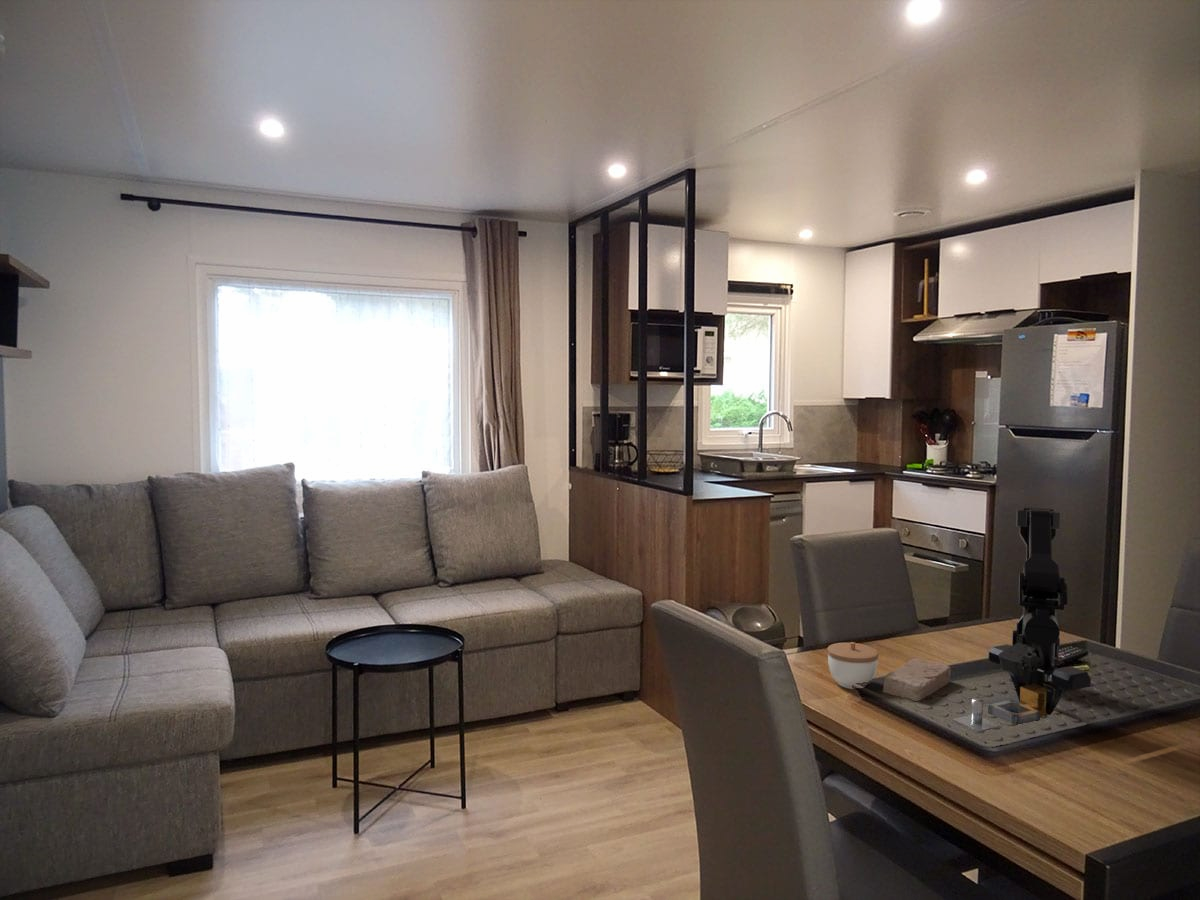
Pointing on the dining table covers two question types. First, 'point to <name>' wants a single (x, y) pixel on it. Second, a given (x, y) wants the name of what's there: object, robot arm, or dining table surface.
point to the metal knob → (976, 718)
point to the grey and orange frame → (1022, 706)
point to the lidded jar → (852, 663)
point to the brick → (917, 679)
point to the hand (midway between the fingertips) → (1035, 708)
